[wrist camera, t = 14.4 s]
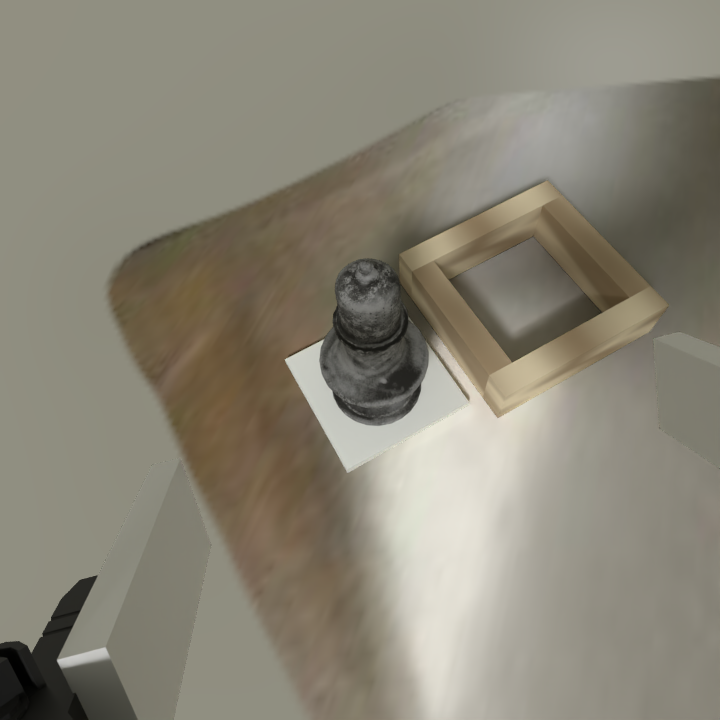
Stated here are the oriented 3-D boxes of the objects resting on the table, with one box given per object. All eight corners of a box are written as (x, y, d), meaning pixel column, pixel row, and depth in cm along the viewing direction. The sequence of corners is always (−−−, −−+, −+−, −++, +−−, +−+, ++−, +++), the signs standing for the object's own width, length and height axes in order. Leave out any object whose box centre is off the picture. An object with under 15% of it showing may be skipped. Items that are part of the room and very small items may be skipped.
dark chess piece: (338, 333, 36) (312, 198, 26) (433, 347, 35) (447, 214, 25) (316, 421, 34) (277, 312, 23) (417, 439, 33) (425, 334, 22)
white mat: (398, 305, 38) (397, 301, 37) (468, 405, 34) (469, 402, 34) (286, 363, 36) (284, 359, 36) (347, 472, 33) (346, 470, 32)
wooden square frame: (538, 212, 40) (547, 180, 38) (649, 331, 36) (669, 305, 33) (399, 282, 38) (399, 254, 36) (497, 418, 34) (505, 397, 31)
